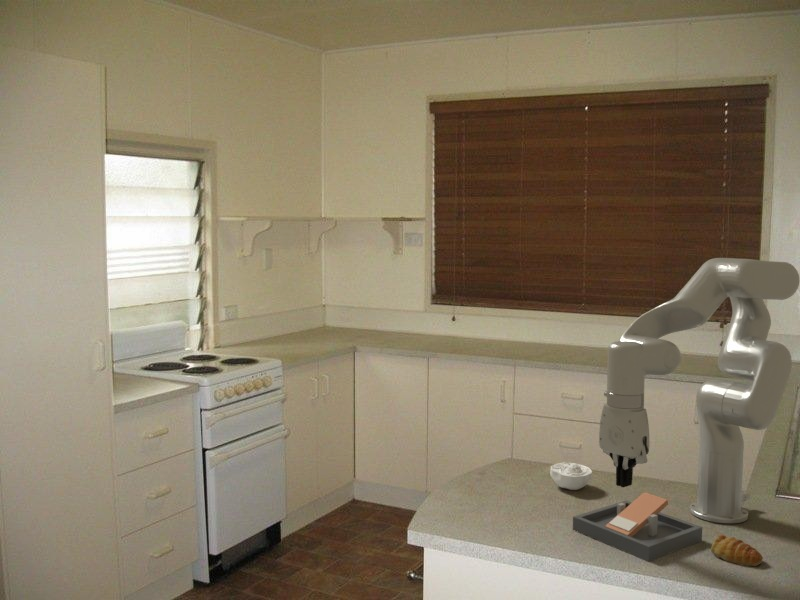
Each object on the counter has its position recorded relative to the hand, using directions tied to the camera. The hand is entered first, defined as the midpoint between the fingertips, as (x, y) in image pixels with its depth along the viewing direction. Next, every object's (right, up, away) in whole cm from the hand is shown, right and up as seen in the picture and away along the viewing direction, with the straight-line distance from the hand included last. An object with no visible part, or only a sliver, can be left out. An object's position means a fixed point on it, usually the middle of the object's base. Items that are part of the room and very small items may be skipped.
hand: (624, 485), depth 166 cm
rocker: (+4, -7, +3) cm, 9 cm away
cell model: (-4, -9, +35) cm, 37 cm away
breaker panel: (+4, -12, +4) cm, 13 cm away
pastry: (+20, -13, -7) cm, 25 cm away
